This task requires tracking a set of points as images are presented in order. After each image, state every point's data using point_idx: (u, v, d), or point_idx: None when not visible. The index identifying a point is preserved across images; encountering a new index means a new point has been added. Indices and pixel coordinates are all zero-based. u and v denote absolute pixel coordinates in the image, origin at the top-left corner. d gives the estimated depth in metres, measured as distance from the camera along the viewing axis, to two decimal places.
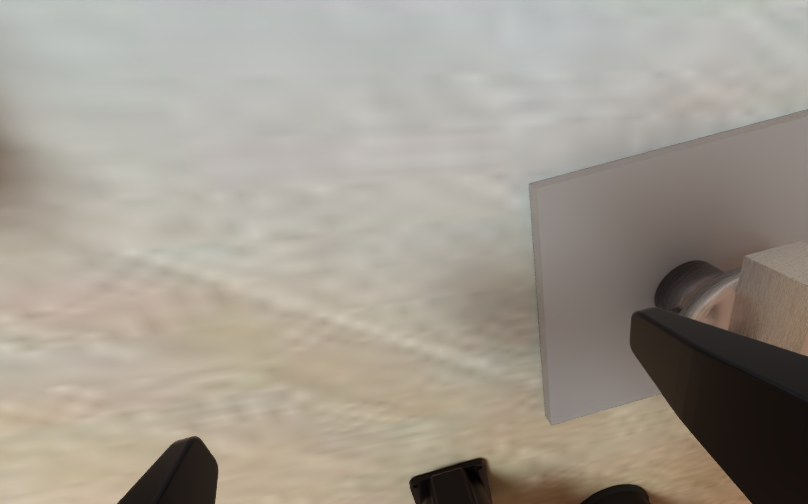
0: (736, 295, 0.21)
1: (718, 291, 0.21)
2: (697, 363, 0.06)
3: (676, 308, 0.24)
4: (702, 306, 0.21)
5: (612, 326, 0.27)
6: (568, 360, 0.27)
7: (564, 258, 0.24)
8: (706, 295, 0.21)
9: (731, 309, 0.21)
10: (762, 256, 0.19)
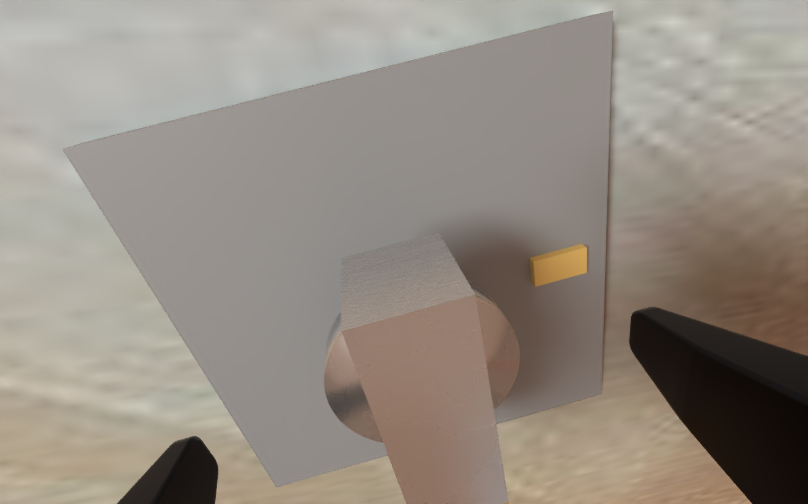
0: None
1: None
2: (697, 363, 0.06)
3: None
4: (332, 339, 0.13)
5: (309, 358, 0.19)
6: (259, 404, 0.19)
7: (175, 261, 0.15)
8: (340, 321, 0.13)
9: None
10: (359, 259, 0.11)
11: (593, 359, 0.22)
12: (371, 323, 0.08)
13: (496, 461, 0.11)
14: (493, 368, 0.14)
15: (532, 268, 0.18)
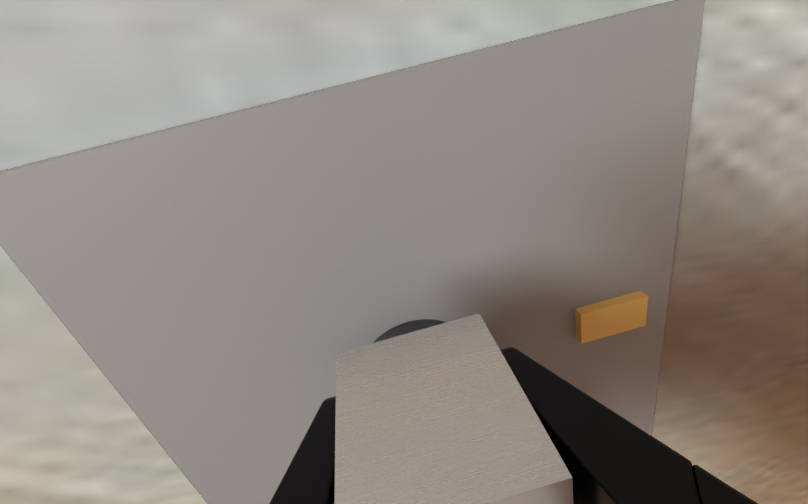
0: None
1: None
2: None
3: None
4: None
5: (299, 431, 0.15)
6: (239, 486, 0.16)
7: (122, 324, 0.12)
8: None
9: None
10: (364, 359, 0.07)
11: (643, 420, 0.18)
12: None
13: None
14: None
15: (578, 321, 0.14)
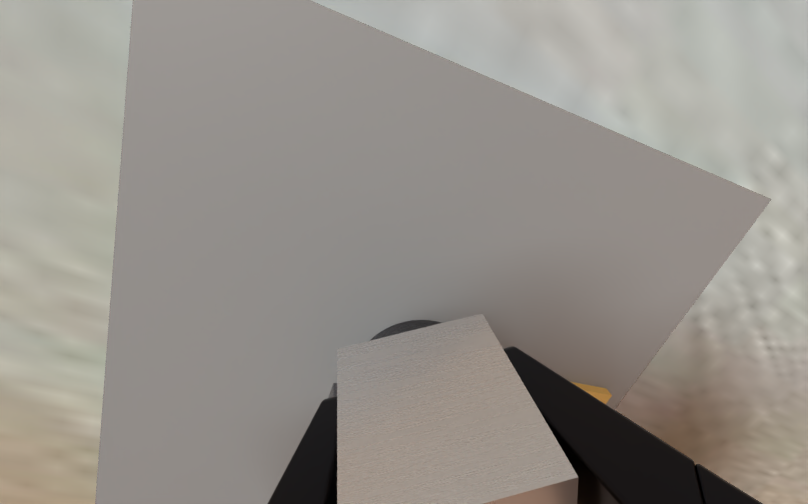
0: None
1: None
2: None
3: None
4: None
5: (263, 377, 0.13)
6: (154, 406, 0.13)
7: (184, 173, 0.10)
8: None
9: None
10: (366, 355, 0.07)
11: None
12: None
13: None
14: None
15: None
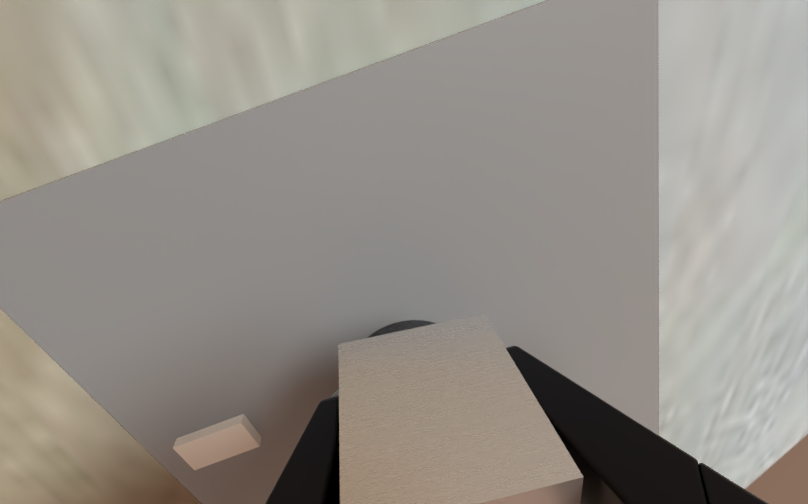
0: None
1: None
2: None
3: None
4: None
5: (312, 270, 0.12)
6: (193, 198, 0.10)
7: (486, 88, 0.10)
8: None
9: None
10: (367, 351, 0.07)
11: None
12: None
13: None
14: None
15: None
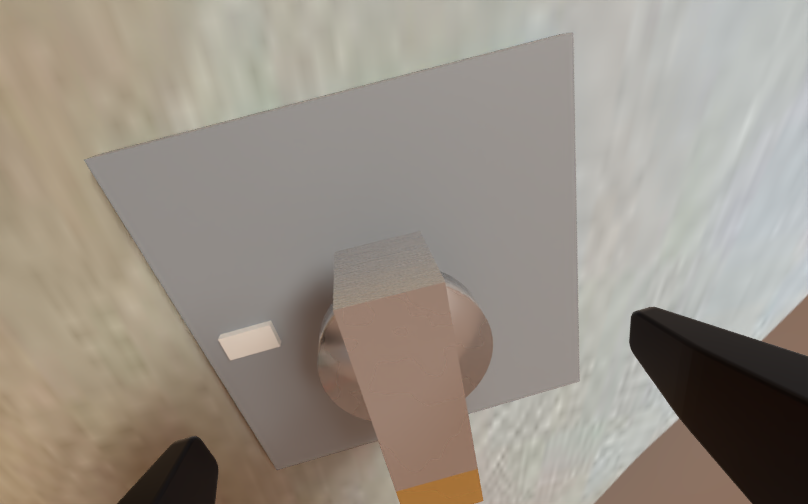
0: None
1: None
2: (697, 363, 0.06)
3: None
4: (325, 324, 0.15)
5: (333, 215, 0.17)
6: (261, 156, 0.16)
7: (461, 101, 0.16)
8: (332, 309, 0.15)
9: None
10: (350, 252, 0.13)
11: (320, 451, 0.24)
12: (357, 304, 0.10)
13: (466, 430, 0.13)
14: (469, 354, 0.16)
15: None
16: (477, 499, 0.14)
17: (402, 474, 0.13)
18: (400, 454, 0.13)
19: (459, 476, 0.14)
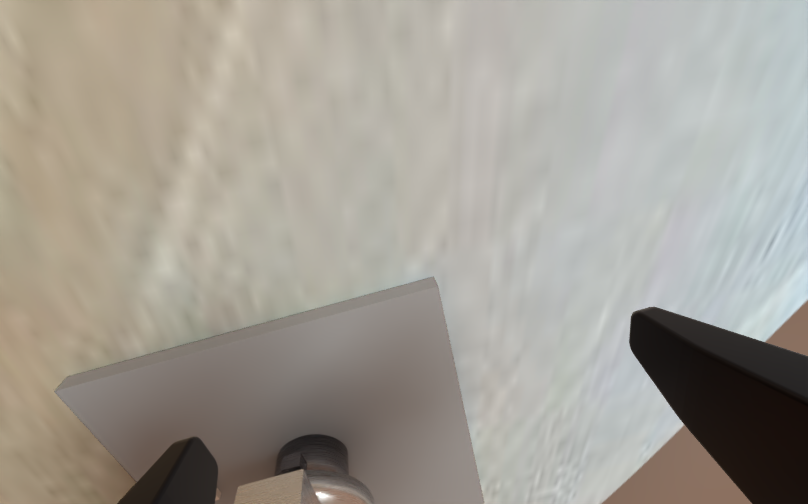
0: None
1: None
2: (697, 363, 0.06)
3: (305, 463, 0.21)
4: None
5: (257, 410, 0.22)
6: (195, 378, 0.20)
7: (353, 333, 0.20)
8: None
9: None
10: (248, 491, 0.17)
11: None
12: None
13: None
14: None
15: None
16: None
17: None
18: None
19: None
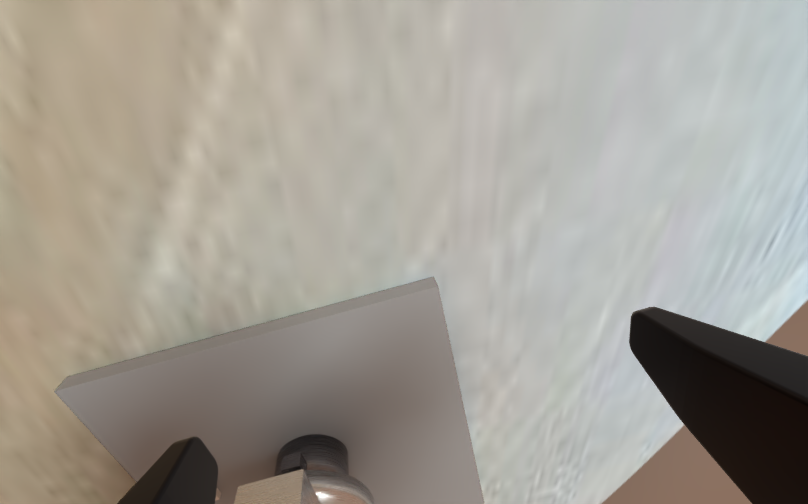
0: None
1: None
2: (697, 363, 0.06)
3: (305, 463, 0.21)
4: None
5: (257, 410, 0.22)
6: (195, 378, 0.20)
7: (353, 333, 0.20)
8: None
9: None
10: (248, 491, 0.17)
11: None
12: None
13: None
14: None
15: None
16: None
17: None
18: None
19: None
